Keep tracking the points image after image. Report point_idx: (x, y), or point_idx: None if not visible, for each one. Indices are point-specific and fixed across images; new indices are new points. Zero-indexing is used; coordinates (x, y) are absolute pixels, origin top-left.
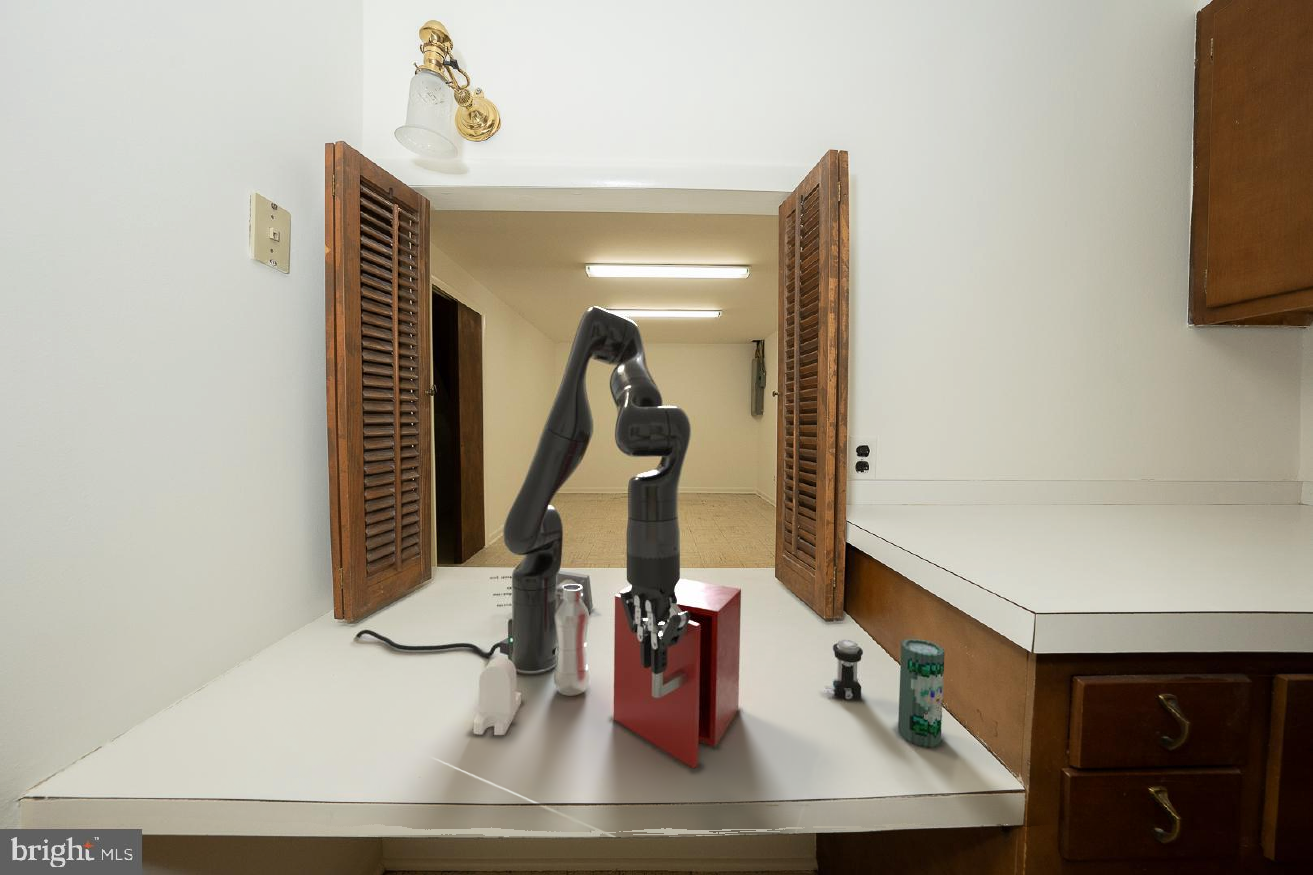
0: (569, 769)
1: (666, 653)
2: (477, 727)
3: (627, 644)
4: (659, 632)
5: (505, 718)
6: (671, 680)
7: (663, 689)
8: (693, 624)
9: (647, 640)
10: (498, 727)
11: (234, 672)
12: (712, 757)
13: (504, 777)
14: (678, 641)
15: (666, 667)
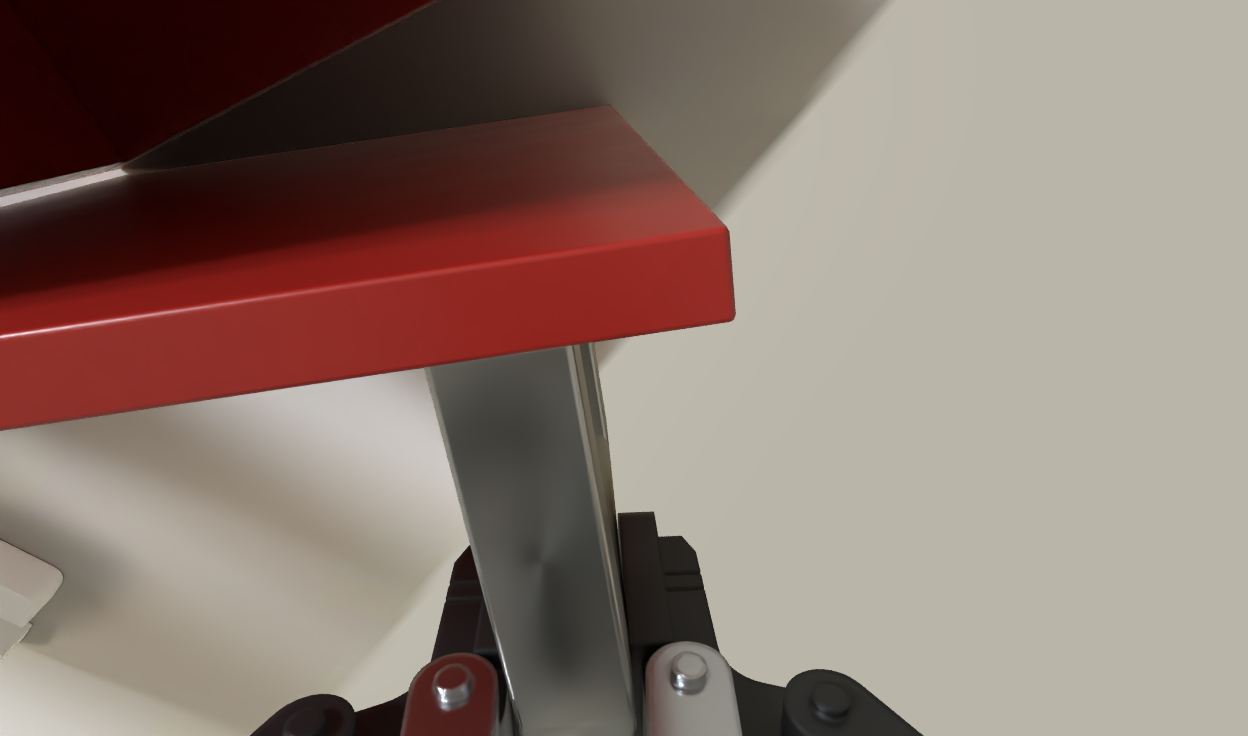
0: (360, 478)
1: (711, 628)
2: (7, 654)
3: None
4: (558, 705)
5: (2, 591)
6: (591, 363)
7: (605, 421)
8: (673, 324)
9: (511, 729)
10: (39, 607)
11: None
12: (604, 6)
13: (295, 630)
14: (880, 707)
15: (689, 547)
